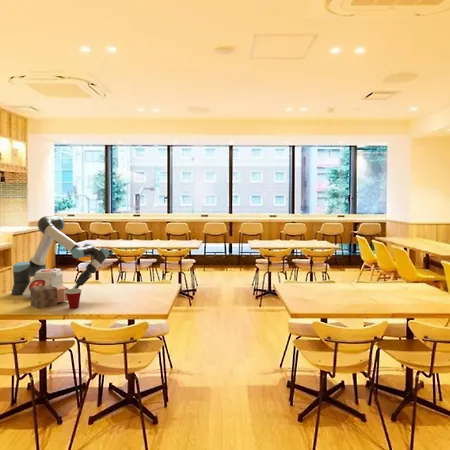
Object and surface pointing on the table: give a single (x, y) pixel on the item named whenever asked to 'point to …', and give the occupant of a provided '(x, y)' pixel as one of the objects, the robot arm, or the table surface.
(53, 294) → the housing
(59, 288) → the plug
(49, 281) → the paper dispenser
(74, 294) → the plastic cup
